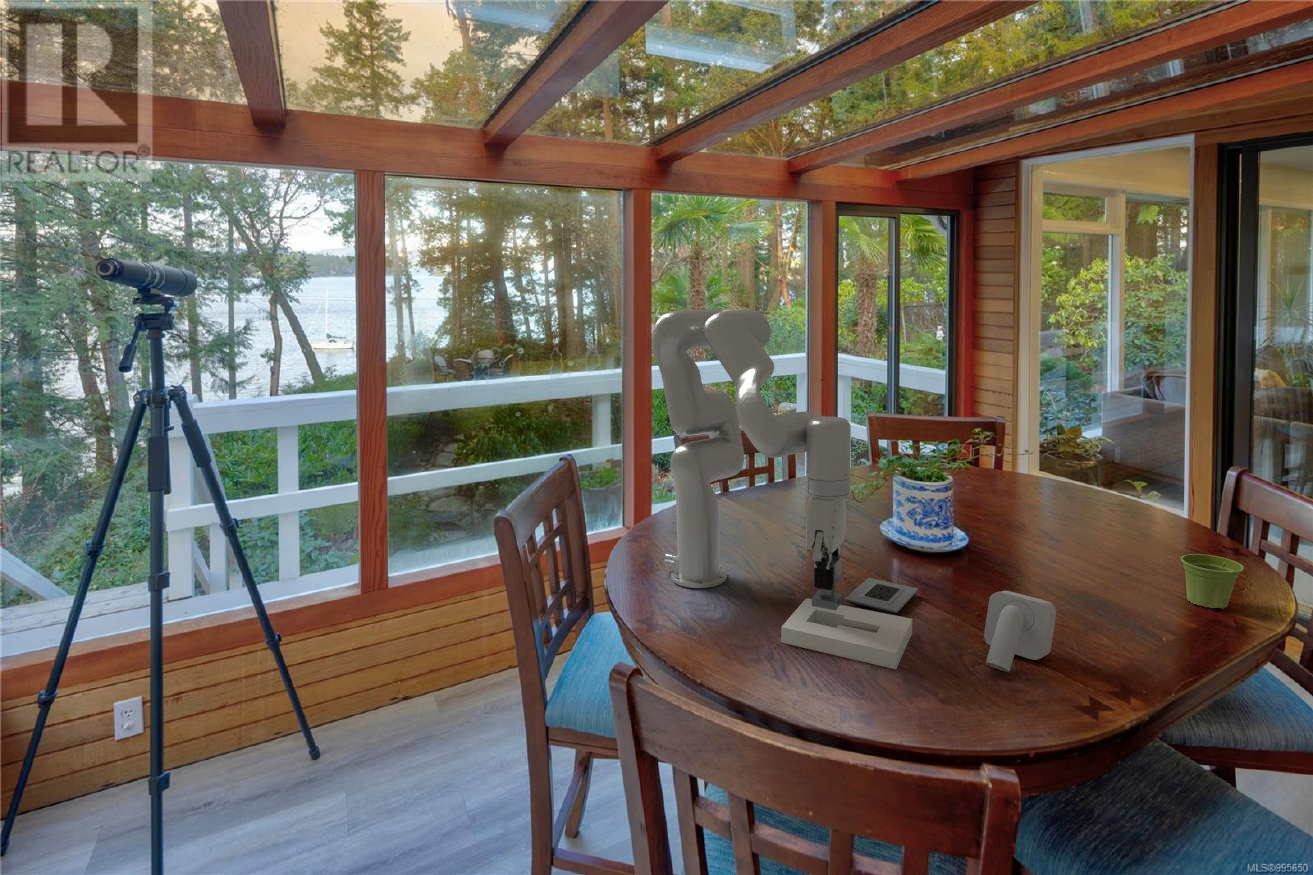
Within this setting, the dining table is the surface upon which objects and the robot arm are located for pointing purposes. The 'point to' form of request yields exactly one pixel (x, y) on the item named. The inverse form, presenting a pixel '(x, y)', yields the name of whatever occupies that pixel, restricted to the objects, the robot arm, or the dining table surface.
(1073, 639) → the dining table surface
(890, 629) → the keyhole plate
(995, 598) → the wall hook
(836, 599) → the keyhole peg
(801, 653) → the dining table surface
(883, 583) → the electrical outlet
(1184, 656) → the dining table surface
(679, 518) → the robot arm
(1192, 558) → the plant pot
